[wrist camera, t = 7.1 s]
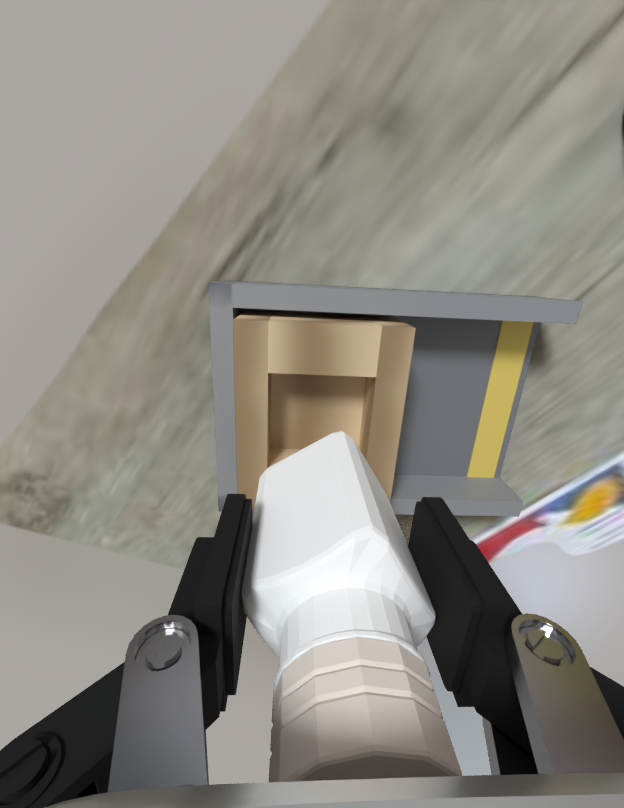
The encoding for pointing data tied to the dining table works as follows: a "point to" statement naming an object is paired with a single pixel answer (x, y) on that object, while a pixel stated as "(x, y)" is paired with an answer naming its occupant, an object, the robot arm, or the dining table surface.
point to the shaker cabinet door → (318, 388)
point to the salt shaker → (342, 624)
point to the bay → (414, 382)
